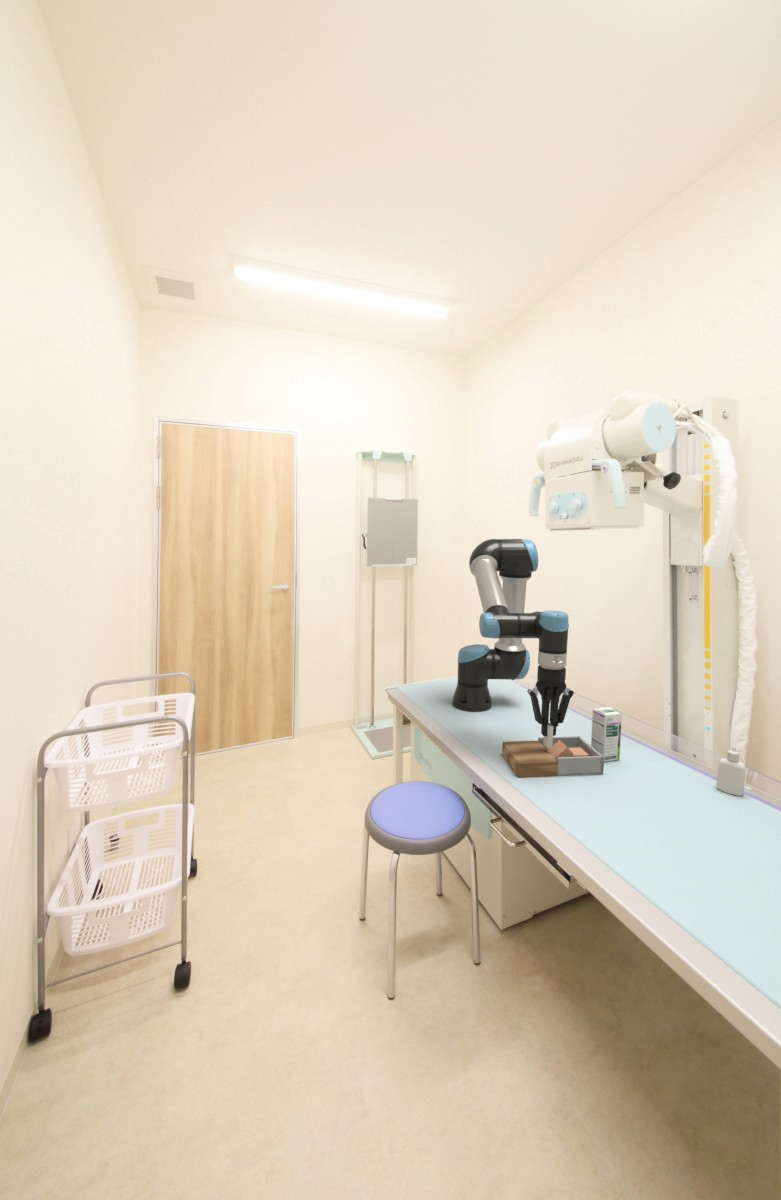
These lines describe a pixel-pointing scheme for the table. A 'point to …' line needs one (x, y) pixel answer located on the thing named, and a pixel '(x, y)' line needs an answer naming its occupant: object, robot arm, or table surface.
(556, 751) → the tile
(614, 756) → the syrup box
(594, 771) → the bin
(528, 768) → the board
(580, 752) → the tile
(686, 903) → the table surface
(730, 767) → the eye dropper bottle
